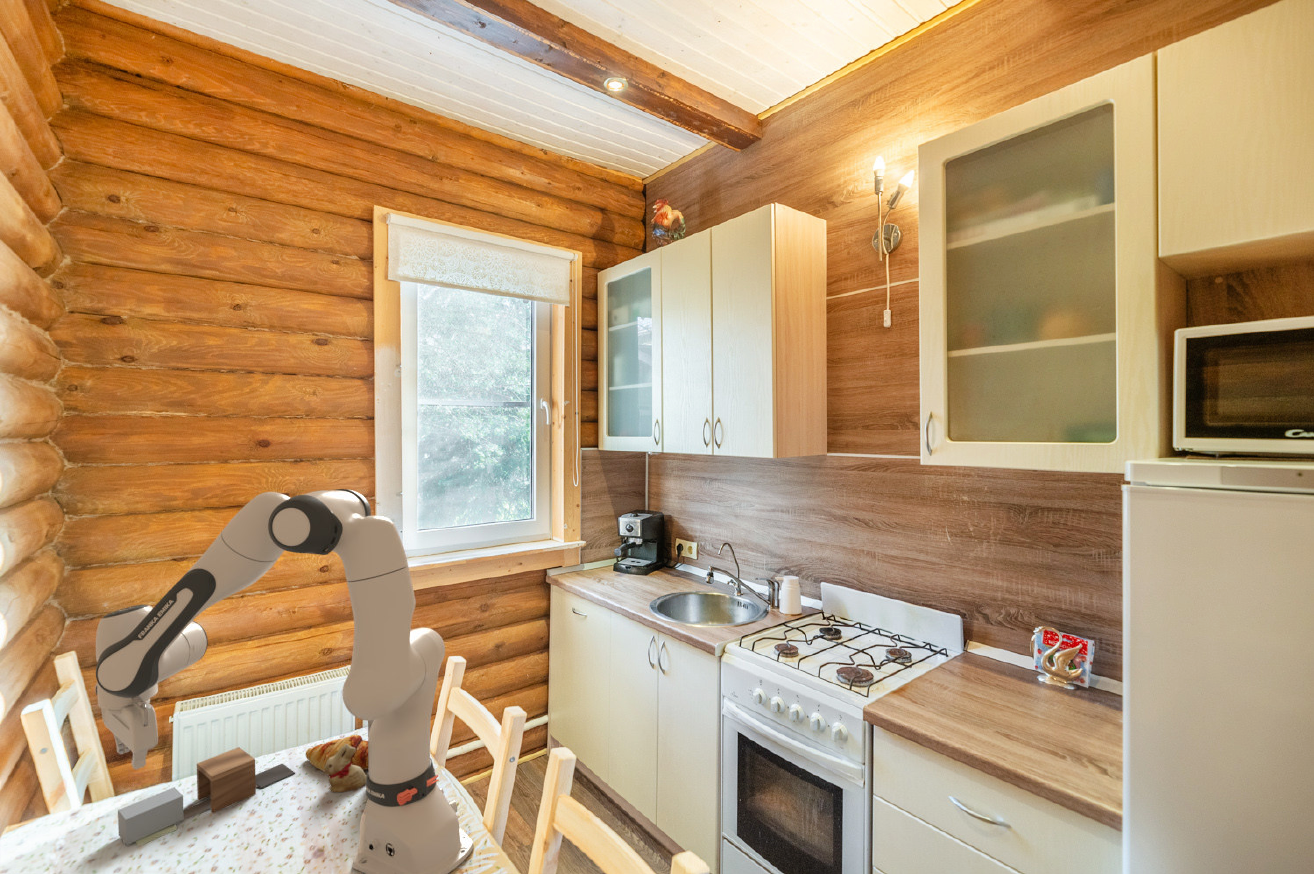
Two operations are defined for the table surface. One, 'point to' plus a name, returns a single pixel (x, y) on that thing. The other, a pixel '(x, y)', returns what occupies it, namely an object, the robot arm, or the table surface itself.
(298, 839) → the table surface
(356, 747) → the croissant
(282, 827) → the table surface
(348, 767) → the chocolate bunny
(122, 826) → the block
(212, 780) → the tunnel
